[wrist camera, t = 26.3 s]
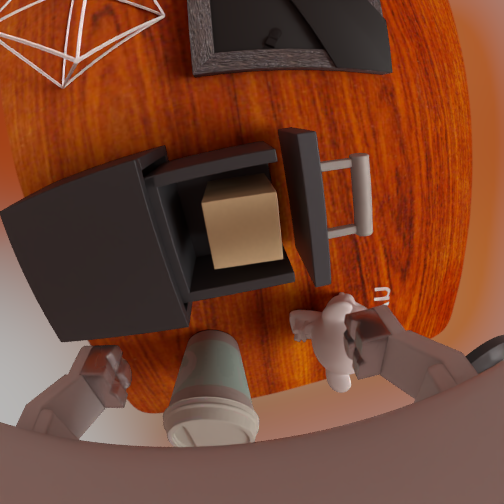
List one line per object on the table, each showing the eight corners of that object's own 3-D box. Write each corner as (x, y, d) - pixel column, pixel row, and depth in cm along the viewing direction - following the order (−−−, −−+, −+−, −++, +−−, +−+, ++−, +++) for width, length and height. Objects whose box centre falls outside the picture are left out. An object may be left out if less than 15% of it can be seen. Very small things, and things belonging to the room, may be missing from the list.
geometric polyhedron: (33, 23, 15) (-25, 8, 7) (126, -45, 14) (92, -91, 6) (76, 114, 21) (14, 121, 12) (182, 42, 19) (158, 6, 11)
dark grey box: (165, 145, 23) (134, 159, 15) (198, 268, 28) (189, 327, 20) (53, 182, 23) (-2, 212, 15) (93, 288, 28) (61, 342, 20)
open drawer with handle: (342, 121, 22) (381, 125, 16) (352, 235, 27) (385, 271, 20) (161, 153, 22) (137, 168, 16) (193, 267, 27) (184, 313, 21)
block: (270, 226, 24) (283, 259, 19) (217, 234, 24) (214, 269, 19) (264, 173, 23) (276, 191, 17) (207, 181, 22) (200, 203, 17)
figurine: (299, 345, 35) (380, 343, 32) (287, 400, 28) (383, 400, 25) (285, 260, 30) (385, 255, 27) (268, 314, 23) (398, 310, 20)
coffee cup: (189, 308, 30) (176, 404, 19) (264, 334, 32) (280, 427, 21) (165, 360, 33) (151, 447, 22) (231, 381, 35) (236, 465, 24)
